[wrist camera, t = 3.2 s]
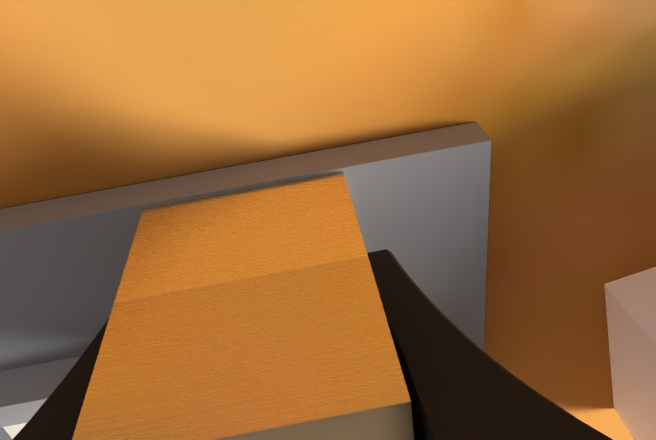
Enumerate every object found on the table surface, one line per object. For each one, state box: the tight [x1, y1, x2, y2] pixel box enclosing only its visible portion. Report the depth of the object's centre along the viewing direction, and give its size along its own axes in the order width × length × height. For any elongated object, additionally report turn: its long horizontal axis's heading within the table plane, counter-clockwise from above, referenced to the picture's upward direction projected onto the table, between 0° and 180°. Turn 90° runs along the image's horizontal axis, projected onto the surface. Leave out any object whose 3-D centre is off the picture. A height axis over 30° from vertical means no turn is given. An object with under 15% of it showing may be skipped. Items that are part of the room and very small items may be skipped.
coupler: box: [72, 172, 414, 440], centre depth 10 cm, size 4×4×6 cm
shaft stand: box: [0, 122, 491, 440], centre depth 14 cm, size 19×11×4 cm, turn 98°
